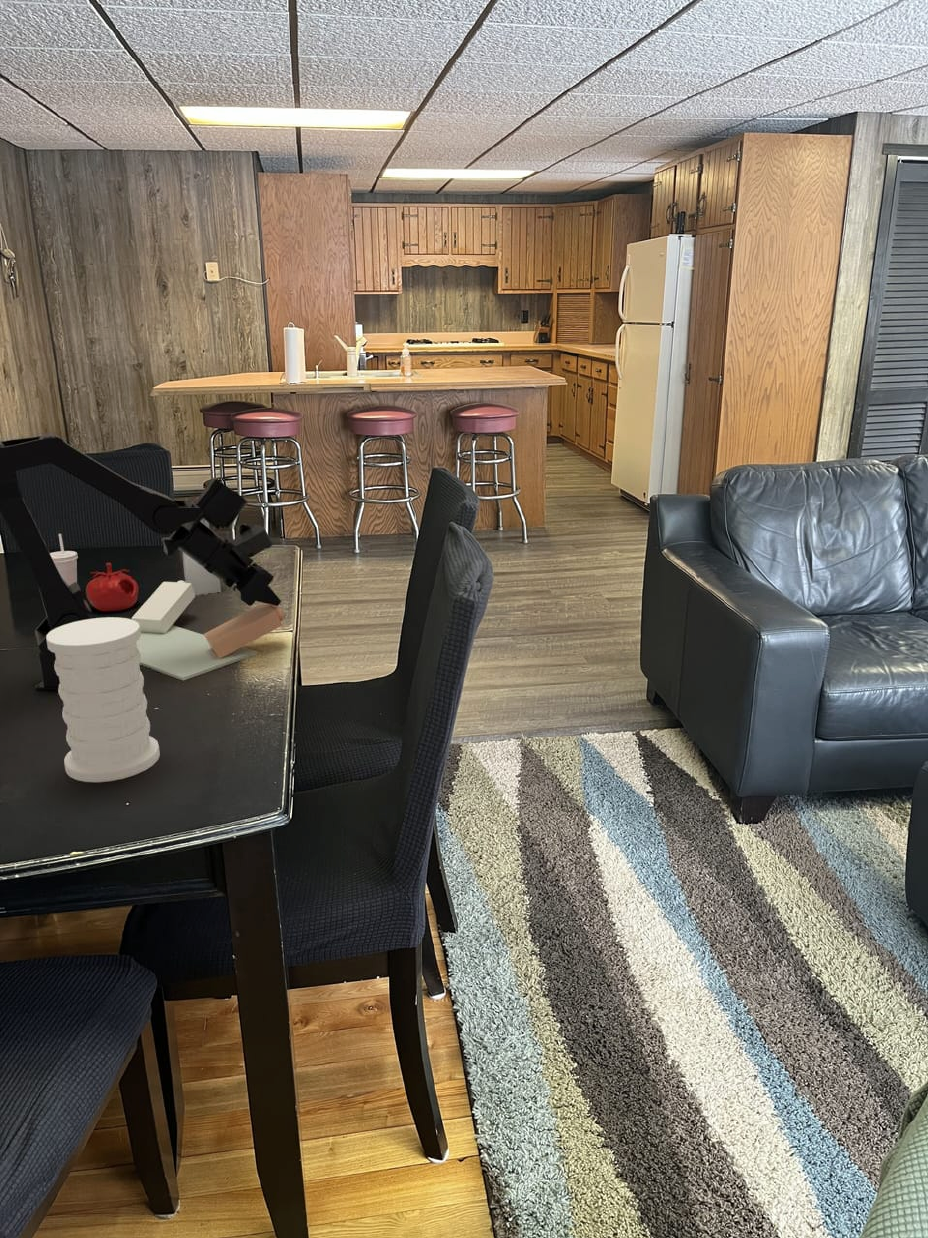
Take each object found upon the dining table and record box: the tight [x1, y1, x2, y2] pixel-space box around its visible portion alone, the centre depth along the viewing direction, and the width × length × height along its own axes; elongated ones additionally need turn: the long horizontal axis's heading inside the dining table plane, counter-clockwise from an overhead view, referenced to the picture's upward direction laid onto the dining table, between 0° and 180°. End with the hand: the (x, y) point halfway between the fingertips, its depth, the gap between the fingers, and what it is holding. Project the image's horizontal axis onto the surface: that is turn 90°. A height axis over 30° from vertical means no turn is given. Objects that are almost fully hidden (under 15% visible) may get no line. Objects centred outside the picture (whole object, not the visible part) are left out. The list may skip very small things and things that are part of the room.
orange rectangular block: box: [203, 602, 287, 659], centre depth 154 cm, size 3×6×13 cm
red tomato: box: [85, 562, 139, 613], centre depth 179 cm, size 10×10×9 cm
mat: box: [136, 624, 258, 681], centre depth 156 cm, size 15×29×1 cm, turn 52°
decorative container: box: [46, 616, 161, 783], centre depth 113 cm, size 12×12×18 cm
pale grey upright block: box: [181, 551, 222, 596], centre depth 189 cm, size 4×7×10 cm, turn 113°
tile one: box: [130, 580, 196, 633], centre depth 168 cm, size 3×6×13 cm
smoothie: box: [49, 533, 79, 586], centre depth 185 cm, size 6×6×14 cm
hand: (279, 603), depth 155 cm, fingers closed
